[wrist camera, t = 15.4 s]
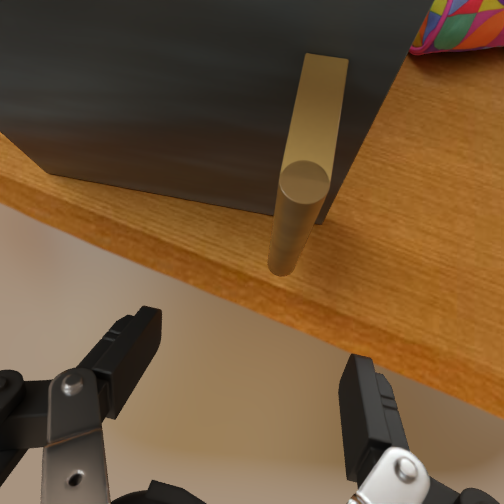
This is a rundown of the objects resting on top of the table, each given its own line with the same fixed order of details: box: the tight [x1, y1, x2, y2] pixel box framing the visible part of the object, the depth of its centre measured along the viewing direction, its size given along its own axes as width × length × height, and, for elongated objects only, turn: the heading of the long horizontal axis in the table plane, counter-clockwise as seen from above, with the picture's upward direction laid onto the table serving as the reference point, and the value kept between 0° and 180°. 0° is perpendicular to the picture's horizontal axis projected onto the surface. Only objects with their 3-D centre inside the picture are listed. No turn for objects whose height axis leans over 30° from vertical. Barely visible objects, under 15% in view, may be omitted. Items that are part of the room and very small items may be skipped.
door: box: [0, 0, 434, 276], centre depth 17 cm, size 8×26×24 cm, turn 78°
